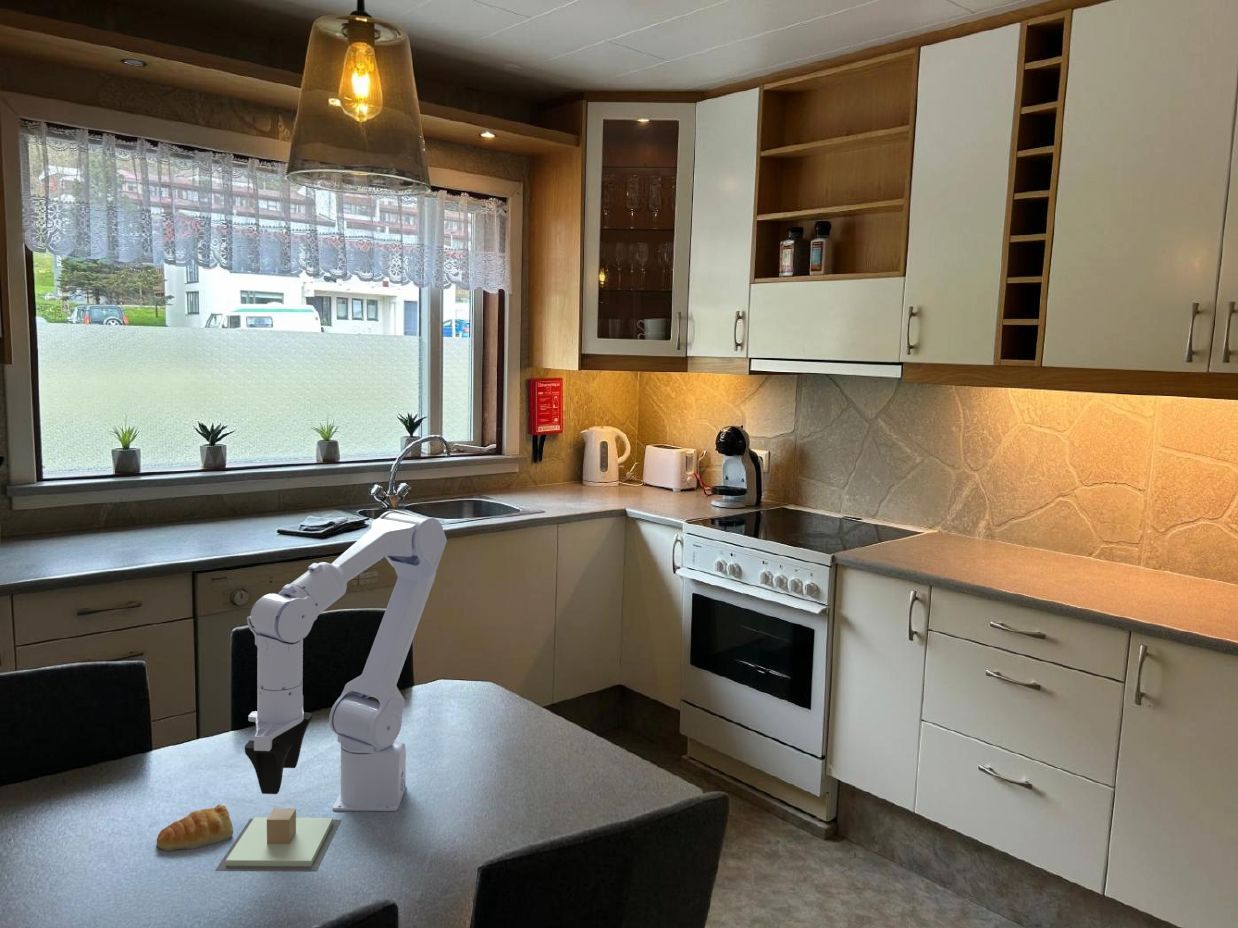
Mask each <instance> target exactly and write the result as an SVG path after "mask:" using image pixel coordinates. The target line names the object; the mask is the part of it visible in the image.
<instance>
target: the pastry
mask: <svg viewBox="0 0 1238 928" xmlns="http://www.w3.org/2000/svg"><path fill="white" fill-rule="evenodd" d="M230 817H231V816H230V814H229V811H228V808H227V807H226V805H222V804H217V805H216V806H215V807H209V808H204V809H201V810H194V811H192V812H189V814H188V815H187V816H184V817H183V818H181V819H180V820H176V821H173V822H172V823H171V824H169V825H167V826H166V827H164V828H162V829H161V830H160V831H159V833H158V835H157V838H156V846H157V847H158V848H159V849H161V850H162V851H163V850H164V851H166V852H170V851H177V850H188V849H197V848H200V847H203V846H207V845H211V844H215V843H216V844H217V843H219V842H222V841H227V840H229V839H230V838H231V837H233V834H234V826H233V822H232V820H231V818H230Z"/></svg>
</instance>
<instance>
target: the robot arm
mask: <svg viewBox="0 0 1238 928" xmlns="http://www.w3.org/2000/svg"><path fill="white" fill-rule="evenodd" d="M447 543H448V540H447V536H446V534H445V530H444V526H443V525H442V523H441V521H440V520H439V519H436V518H434V517H422V516H416V515H411V514H405V513H399V512H396V511H392V510H389V511H388V510H387V511H386V512H383V513H382V514H380V516H379V517H378V518H376V519H374V520H372V521H371V524H370V526H369V530H367V532H366V533H365V534H364V535H362V537H360V538H359V539H358V540H357V541H356V542H354V543H353V544H352V545H351V546H350V547H348V549H346V550H345V551H344V552H343V553H341V554H340V555H339V556H338V557H337V558H336V559H335V560H334V561H333V562H331V563H330V562H324V561H321V562H318V563H317V562H313V563H312V564H310V565H309V566H308V567H307V569H308V570H307V571H306V572H304V573H303V574H301V575H300V576H299V577H298V578H296V579H295V580H294V581H292V582H291V583H288V584H285V585H284V586H282V588H281V590H280V591H279V592H278V593H274V592H273V593H268V594H265V595H262V596H261V597H260V598H259V599H258V600H257V601H256V602H255V603H254V604H253V606H252V608H251V611H250V615H249V616H247V618H246V622H247V626H248V628H249V630H250V631H251V632H252V634H253V635H254V645H255V646H256V648H257V654H256V655H257V656H256V657H257V671H256V672H257V677H256V678H257V679H256V680H257V682H256V683H257V684H256V685H257V686H256V687H257V689H256V690H257V691H256V693H257V695H256V696H257V702H256V703H257V705H256V706H257V711H256V710H255V711H251V712H250V713H249V714H248V716H247V717H248V719H247V720H248V721H249V722H250V723H251V722H253V723H255V732H256V733H255V734H254V736H253V739H252V740H251V739H249V740H248V741H247V743H246V744H245V745H244V753H245V755H246V756H247V757H248V759H249V760H250V762H251V764H252V767H253V768H254V771H255V775H256V778H257V781H258V785H259V789H260V791H261V794H262V795H277V794H279V793H280V789H281V786H282V780H283V775H284V774H283V773H284V769H296V767H297V765H298V762H299V759H300V755H301V754H300V753H301V749H302V745H303V741H304V737H305V734H306V731H307V729H308V727H309V724H310V722H311V720H312V718H313V714H312V713H311V712H304V695H303V684H304V683H303V677H304V676H303V675H304V673H303V671H304V669H303V666H304V665H303V664H304V663H303V661H304V659H303V658H304V657H303V655H304V647H303V646H304V639H305V638H306V637H308V635H309V633H310V632H311V630H312V628H313V625H314V622H315V621H316V620H318V616H320V614H321V613H322V612H324V611H325V610H326V609H328V608H329V607H330V606H332V605H333V604H334V603H335V602H337V601H338V600H340V598H342V597H343V596H345V594H346V592H347V587H348V582H349V581H351V580H353V579H354V578H355V577H357V576H358V575H359V574H361V573H363V572H364V571H366V570H368V569H369V568H370V567H372V566H373V565H375V564H376V563H377V562H379V561H381V560H382V559H384V558H385V559H386V561H387V562H388V563H389V564H390V565H391V567H392V568H394V570H395V573H396V576H397V580H396V582H395V585H394V587H393V590H392V592H391V596H390V598H389V601H388V603H387V607H386V609H385V612H384V614H383V617H382V619H381V622H380V624H379V628H378V630H377V633H376V636H375V638H374V641H373V644H372V646H371V649H370V652H369V654H368V657H367V659H366V663H365V664H364V668H363V670H362V673H361V674H360V675H359V676H357V677H355V678H353V679H352V680H350V681H348V682H347V683H346V684H345V685H344V688H343V690H342V692H341V695H340V696H339V697H338V698H337V700H336V701H335V702H334V704H333V705H332V707H331V709H330V712H329V717H328V718H329V719H328V724H329V727H330V729H331V731H332V732H333V733H334V734H336V735H337V742H338V743H339V744H340V792H339V794H338V796H337V798H336V800H335V802H334V804H333V806H332V810H333V811H335V812H336V811H337V812H339V811H342V812H345V811H346V812H347V811H349V812H350V811H351V812H354V811H355V812H396V811H398V810H399V808H400V804H401V801H402V799H403V796H404V793H405V791H406V788H407V784H406V776H407V774H406V772H407V771H406V769H407V768H406V767H407V765H406V763H407V761H406V760H407V757H406V756H407V755H406V754H407V751H406V749H407V748H406V744H405V743H404V742H399V741H396V739H397V738H398V736H399V735H400V732H401V728H402V724H403V712H404V709H405V705H406V701H405V698H404V696H403V695H402V694H401V691H400V690H399V688H398V686H397V684H398V682H399V679H400V675H401V673H402V672H403V671H402V670H403V667H404V664H405V661H406V659H407V656H408V653H409V651H410V648H411V645H412V643H413V639H414V637H415V635H416V632H417V629H418V625H419V623H420V621H421V617H422V615H423V612H424V609H425V606H426V604H427V601H428V598H429V596H430V594H431V593H430V592H431V590H432V587H433V586H434V585H433V584H434V582H435V578H436V575H437V571H438V567H439V564H440V561H441V558H442V557H443V553H444V550H445V548H446V545H447ZM370 697H371V698H375V699H376V700H378V702H377V701H375V700H372V699H369V698H370Z"/></svg>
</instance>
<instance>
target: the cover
mask: <svg viewBox="0 0 1238 928" xmlns="http://www.w3.org/2000/svg"><path fill="white" fill-rule="evenodd" d="M252 819H253V820H252V822H251V823H250V825H249V826H248V828H247V829H246V831H245V832H244V834H243V835H242V837H241V838H240V840H239V841H238V843H237V844H236V846H235V847H234V849H233V850H232V852H231V853H230V855H229V856H228V858H227V859H226V866H312V864H313V862H314V860H315V858H316V856H317V854H318V852H319V850H320V848H321V846H322V844H323V842H324V840H325V838H326V836H327V834H328V832H329V830H330V828H331V826H332V824H333V820H334V819H333V817H297V809H296V808H277V807H276V808H272V810H271V812H270V814H269V815H268V816H254V818H252Z"/></svg>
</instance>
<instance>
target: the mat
mask: <svg viewBox="0 0 1238 928" xmlns="http://www.w3.org/2000/svg"><path fill="white" fill-rule="evenodd" d="M253 819H254V818H249V820H248V821H247V823H246V824H245V825H244V827H243V828H242V830H241V832H240V833H239V834H238V835H237V838H235V840H234V842H233V843H232V845H231V846H230V848H228V851H227V852H226V854H225V855H224V857H223V858H222V859H221V861H220V862H219V864H218V866H216V868H215V869H214V871H227V872H228V871H232V872H233V871H235V872H236V871H238V872H239V871H240V872H242V871H246V872H248V871H251V872H252V871H253V872H257V871H259V872H262V871H263V872H317V871H318V870H319V867H320V865H321V862H322V861H323V859H324V857H325V855H326V853H327V850H328V849H329V847H330V845H331V842H332V840H333V838H334V836H335V834H336V833H337V830H338V828H339V826H340V824H341V822H342V819H333V824H332V826H331V828H330V830H329V832H328V834H327V836H326V838H325V840H324V842H323V844H322V846H321V848H320V850H319V852H318V854H317V856H316V858H315V860H314V862H313V864H312V866H226V859H227V858H228V856H229V855H230V853H231V852H232V850H233V849H234V847H235V846H236V844H237V843H238V841H239V840H240V838H241V837H242V835H243V834H244V832H245V831H246V829H247V828H248V826H249V825H250V823H251V822H252V820H253Z"/></svg>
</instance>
